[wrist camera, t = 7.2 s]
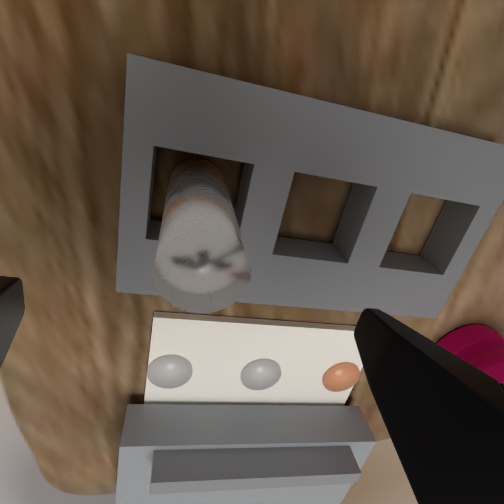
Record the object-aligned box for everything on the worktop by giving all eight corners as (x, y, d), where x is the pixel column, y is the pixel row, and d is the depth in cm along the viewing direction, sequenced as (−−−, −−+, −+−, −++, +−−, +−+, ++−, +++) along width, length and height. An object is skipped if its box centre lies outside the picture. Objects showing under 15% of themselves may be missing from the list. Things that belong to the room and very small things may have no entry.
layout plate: (375, 327, 26) (380, 334, 25) (336, 408, 29) (340, 417, 29) (154, 311, 22) (153, 319, 21) (143, 407, 26) (142, 417, 25)
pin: (229, 164, 18) (260, 237, 10) (219, 216, 19) (240, 316, 12) (171, 153, 17) (157, 223, 10) (165, 208, 19) (149, 309, 11)
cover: (358, 405, 28) (390, 468, 24) (317, 485, 33) (337, 550, 29) (127, 404, 24) (113, 480, 19) (119, 496, 29) (107, 574, 24)
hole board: (493, 142, 20) (530, 151, 18) (414, 296, 25) (436, 318, 23) (136, 55, 15) (127, 53, 13) (123, 267, 20) (115, 292, 18)
